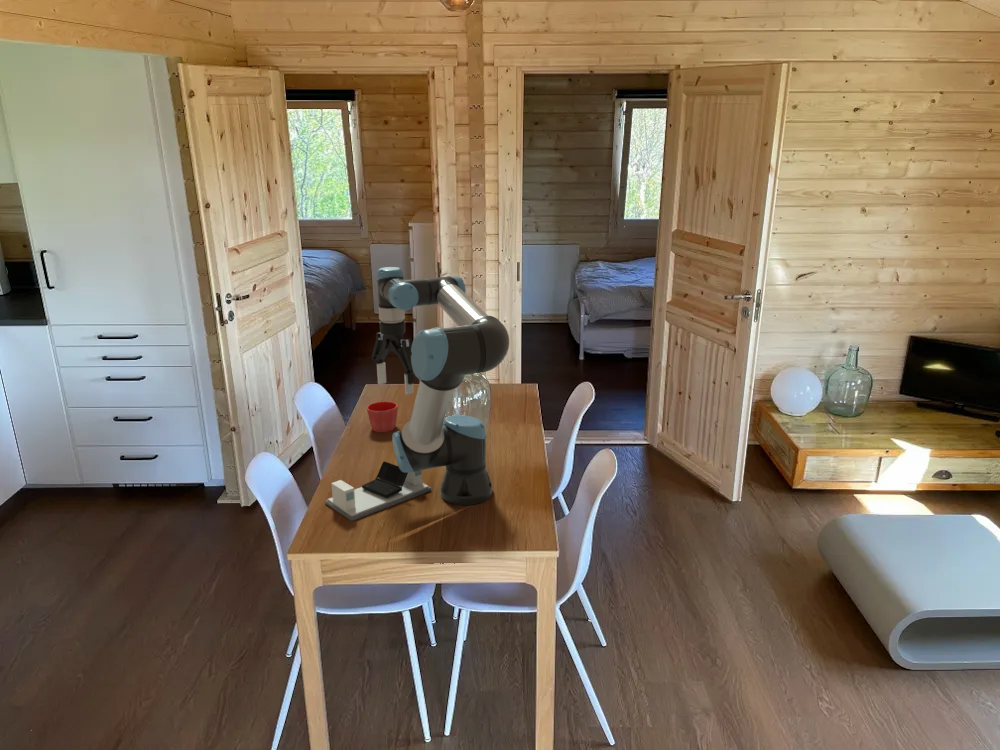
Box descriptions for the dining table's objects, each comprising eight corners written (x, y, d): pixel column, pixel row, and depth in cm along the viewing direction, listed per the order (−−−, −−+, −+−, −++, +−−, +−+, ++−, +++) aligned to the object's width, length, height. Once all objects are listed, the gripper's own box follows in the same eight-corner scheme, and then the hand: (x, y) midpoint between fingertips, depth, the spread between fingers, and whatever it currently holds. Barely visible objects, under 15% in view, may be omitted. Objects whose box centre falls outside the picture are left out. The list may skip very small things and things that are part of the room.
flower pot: (365, 428, 261) (363, 403, 259) (394, 424, 265) (393, 399, 263) (372, 439, 252) (370, 412, 249) (402, 434, 256) (401, 408, 253)
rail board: (431, 490, 213) (430, 467, 211) (351, 521, 196) (349, 496, 194) (403, 475, 223) (402, 453, 221) (325, 503, 206) (323, 479, 203)
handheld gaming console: (365, 494, 212) (360, 486, 210) (388, 468, 218) (383, 460, 216) (390, 504, 206) (385, 496, 204) (413, 477, 211) (408, 469, 209)
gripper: (429, 325, 207) (431, 395, 213) (377, 311, 224) (381, 376, 230) (408, 329, 202) (411, 401, 208) (357, 315, 219) (361, 382, 225)
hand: (395, 388), depth 219 cm, fingers open, 13 cm apart
